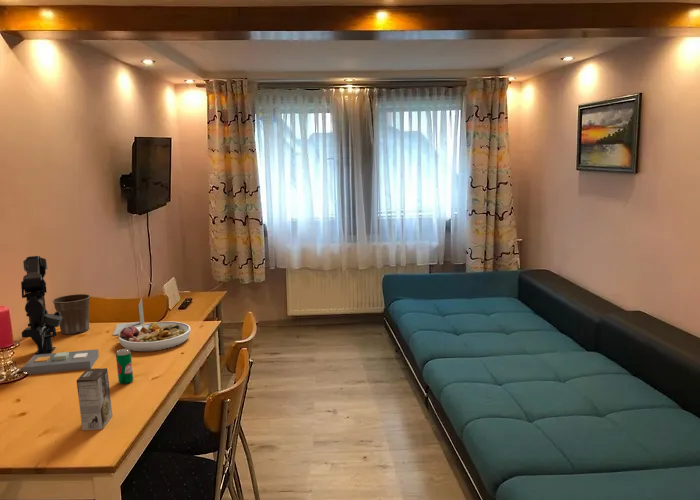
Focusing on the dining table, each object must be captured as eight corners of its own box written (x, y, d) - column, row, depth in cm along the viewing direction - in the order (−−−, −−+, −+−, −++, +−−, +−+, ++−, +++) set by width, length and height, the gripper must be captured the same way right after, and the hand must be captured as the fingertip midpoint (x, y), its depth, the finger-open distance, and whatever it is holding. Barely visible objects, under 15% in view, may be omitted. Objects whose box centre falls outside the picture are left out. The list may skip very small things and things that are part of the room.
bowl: (189, 328, 269) (188, 312, 268) (193, 348, 241) (191, 330, 240) (121, 336, 260) (120, 320, 259) (117, 358, 232) (115, 339, 231)
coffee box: (92, 417, 179) (86, 368, 176) (113, 415, 179) (108, 367, 177) (81, 430, 170) (75, 379, 167) (103, 429, 170) (97, 378, 168)
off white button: (76, 360, 228) (76, 353, 227) (88, 359, 229) (87, 352, 228) (73, 364, 223) (73, 357, 223) (85, 363, 224) (85, 356, 224)
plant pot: (64, 326, 277) (60, 294, 274) (98, 324, 278) (95, 292, 276) (50, 337, 261) (46, 303, 258) (87, 335, 262) (83, 301, 260)
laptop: (117, 325, 278) (114, 299, 275) (144, 322, 281) (142, 297, 279) (112, 336, 260) (109, 309, 258) (141, 333, 264) (138, 306, 261)
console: (35, 362, 229) (34, 354, 229) (98, 356, 234) (98, 349, 233) (23, 374, 216) (22, 367, 215) (90, 368, 220) (89, 361, 220)
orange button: (38, 364, 225) (38, 357, 224) (50, 363, 226) (50, 356, 225) (35, 368, 221) (34, 361, 220) (47, 367, 222) (46, 360, 221)
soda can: (128, 385, 203) (125, 353, 201) (115, 384, 204) (112, 352, 202) (136, 379, 208) (133, 348, 206) (123, 378, 209) (120, 347, 207)
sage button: (57, 360, 226) (56, 353, 226) (69, 359, 227) (68, 351, 226) (54, 364, 222) (53, 356, 221) (66, 363, 223) (65, 355, 222)
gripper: (51, 313, 212) (56, 353, 214) (65, 301, 230) (69, 338, 232) (18, 316, 210) (23, 356, 212) (35, 303, 228) (40, 341, 230)
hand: (40, 347), depth 222 cm, fingers closed
